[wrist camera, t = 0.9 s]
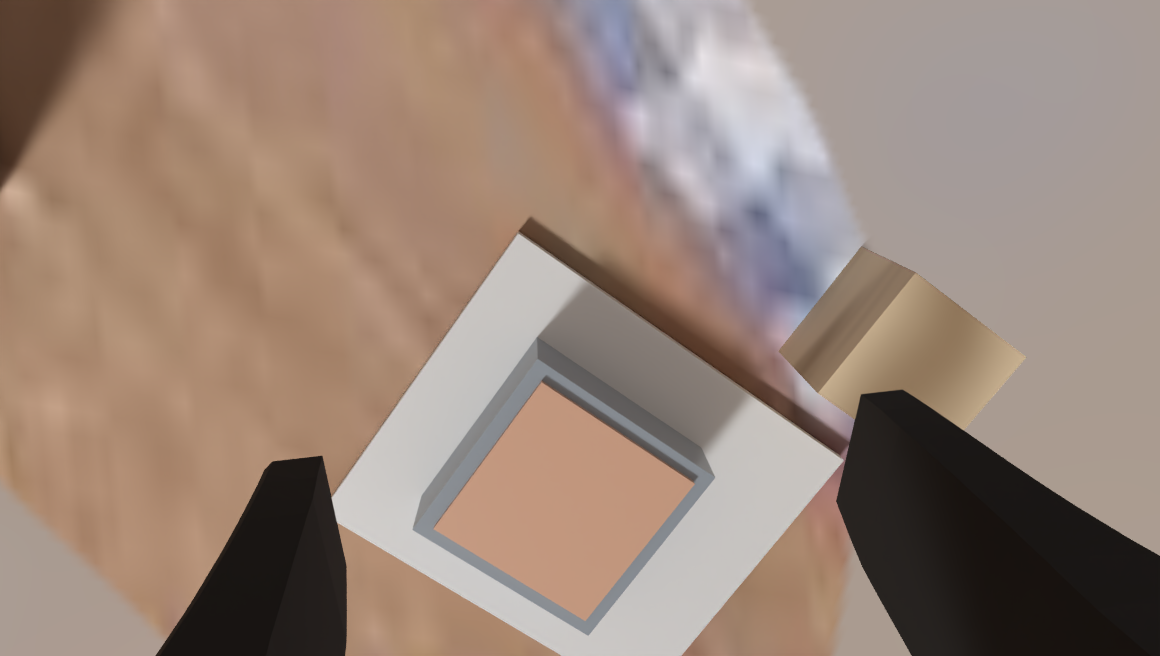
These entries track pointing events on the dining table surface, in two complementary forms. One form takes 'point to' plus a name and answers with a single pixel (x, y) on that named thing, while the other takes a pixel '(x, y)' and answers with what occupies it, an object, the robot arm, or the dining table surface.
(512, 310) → the base
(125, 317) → the dining table surface
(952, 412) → the maple block
